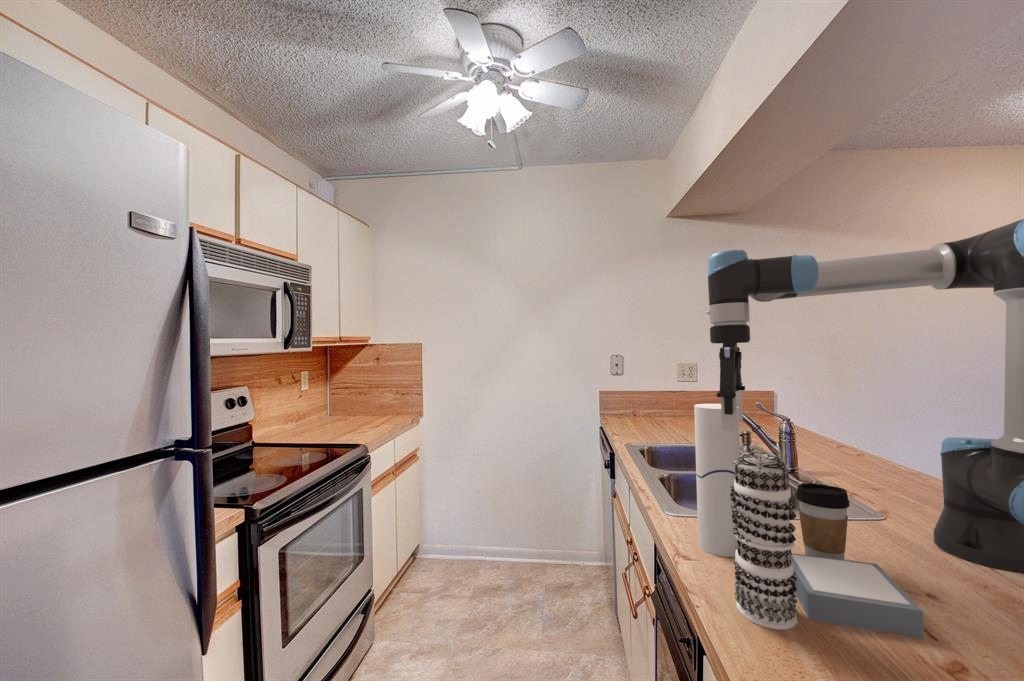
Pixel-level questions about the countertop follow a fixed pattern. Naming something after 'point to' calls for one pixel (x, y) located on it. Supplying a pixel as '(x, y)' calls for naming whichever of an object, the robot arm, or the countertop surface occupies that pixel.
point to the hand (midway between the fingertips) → (733, 425)
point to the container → (715, 480)
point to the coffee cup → (823, 519)
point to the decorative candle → (764, 541)
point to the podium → (854, 596)
